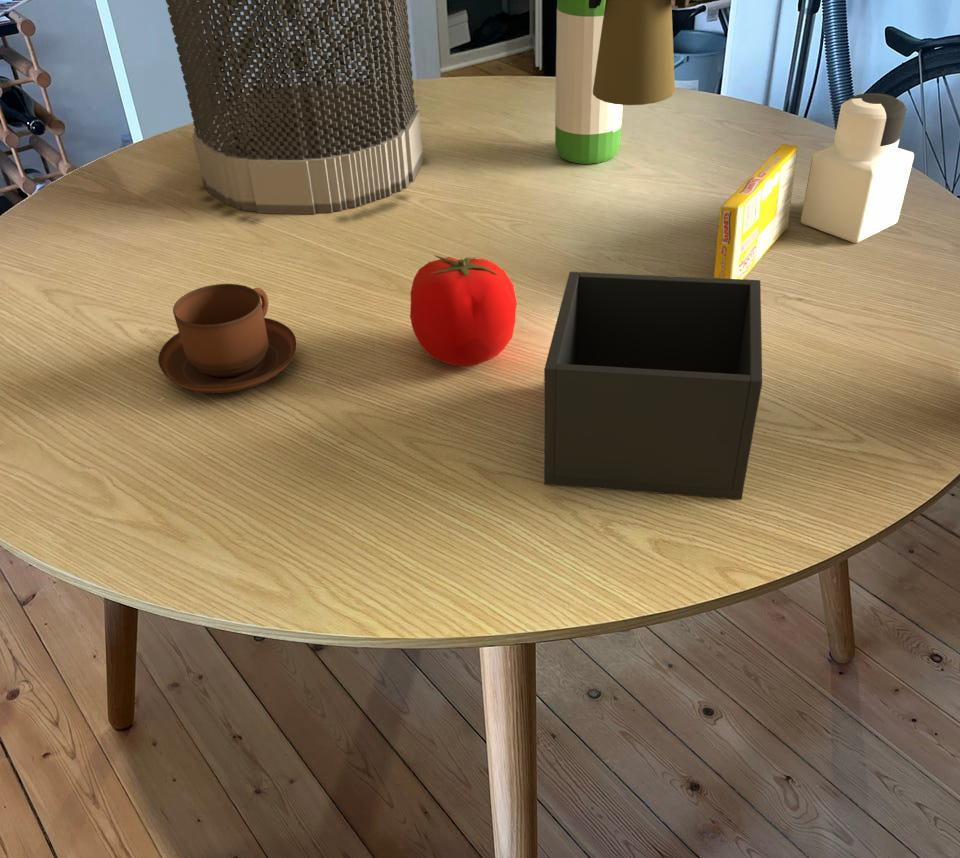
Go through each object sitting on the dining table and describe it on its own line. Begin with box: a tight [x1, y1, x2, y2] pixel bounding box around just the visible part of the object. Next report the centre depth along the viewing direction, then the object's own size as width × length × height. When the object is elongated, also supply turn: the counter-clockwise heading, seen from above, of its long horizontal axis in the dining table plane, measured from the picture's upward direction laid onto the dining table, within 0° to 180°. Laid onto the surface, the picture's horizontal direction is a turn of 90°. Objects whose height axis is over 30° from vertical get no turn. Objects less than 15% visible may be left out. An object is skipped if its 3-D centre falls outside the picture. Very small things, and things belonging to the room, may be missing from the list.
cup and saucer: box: [157, 283, 297, 394], centre depth 88 cm, size 12×12×6 cm
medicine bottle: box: [800, 92, 915, 244], centre depth 102 cm, size 7×7×12 cm
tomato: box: [409, 255, 518, 367], centre depth 88 cm, size 9×10×8 cm
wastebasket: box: [165, 0, 424, 215], centre depth 112 cm, size 25×25×30 cm
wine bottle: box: [554, 0, 624, 165], centre depth 112 cm, size 8×8×30 cm
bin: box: [543, 271, 763, 500], centre depth 77 cm, size 15×15×10 cm
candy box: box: [713, 143, 798, 279], centre depth 99 cm, size 16×2×8 cm, turn 149°
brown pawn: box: [593, 0, 676, 106], centre depth 71 cm, size 6×6×11 cm
